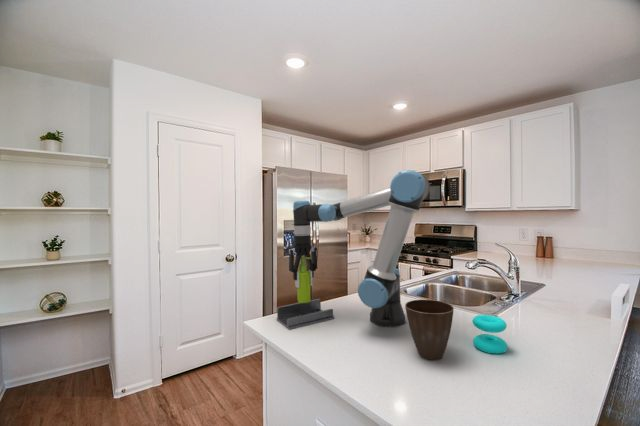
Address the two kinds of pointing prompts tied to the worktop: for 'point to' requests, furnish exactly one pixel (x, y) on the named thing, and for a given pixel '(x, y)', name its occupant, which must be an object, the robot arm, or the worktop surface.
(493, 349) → the donuts
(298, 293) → the soap dispenser
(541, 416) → the worktop surface
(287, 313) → the track
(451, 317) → the plant pot
